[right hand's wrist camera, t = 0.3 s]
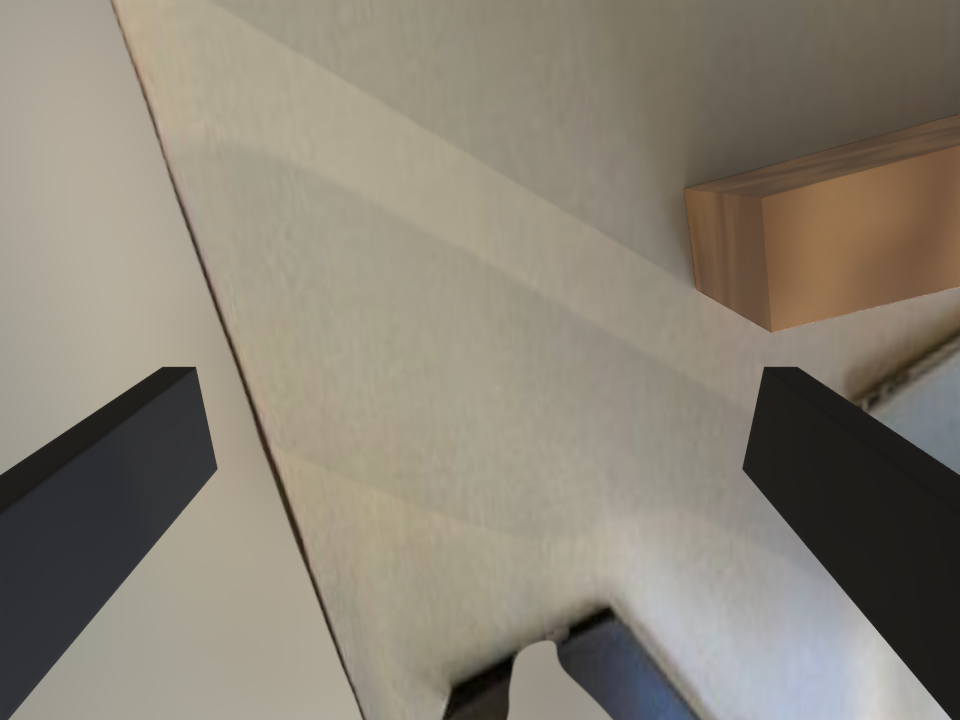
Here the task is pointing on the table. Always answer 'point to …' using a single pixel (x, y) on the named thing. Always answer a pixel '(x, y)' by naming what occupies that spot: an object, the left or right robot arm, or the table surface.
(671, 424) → the table surface
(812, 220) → the box
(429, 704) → the table surface
